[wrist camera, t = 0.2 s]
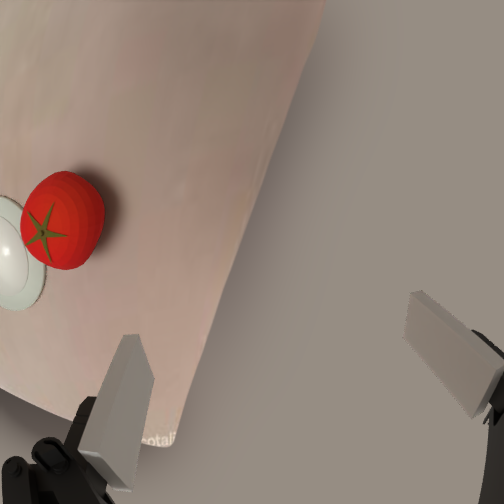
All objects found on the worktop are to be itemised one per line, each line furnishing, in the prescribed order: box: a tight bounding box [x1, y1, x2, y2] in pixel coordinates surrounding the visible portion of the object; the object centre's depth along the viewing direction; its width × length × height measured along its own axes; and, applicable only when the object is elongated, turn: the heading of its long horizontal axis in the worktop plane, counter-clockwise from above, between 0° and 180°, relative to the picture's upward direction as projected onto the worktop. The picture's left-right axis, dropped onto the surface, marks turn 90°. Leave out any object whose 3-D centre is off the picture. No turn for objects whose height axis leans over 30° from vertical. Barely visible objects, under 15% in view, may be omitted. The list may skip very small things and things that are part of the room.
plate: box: [0, 196, 46, 311], centre depth 36 cm, size 20×20×1 cm
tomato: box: [20, 171, 105, 270], centre depth 32 cm, size 11×12×10 cm
